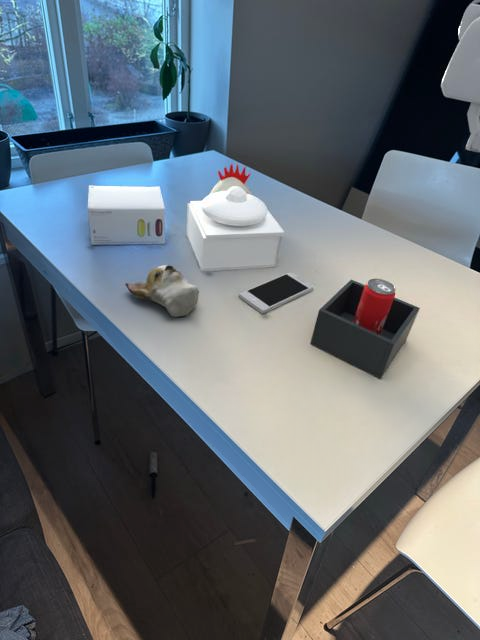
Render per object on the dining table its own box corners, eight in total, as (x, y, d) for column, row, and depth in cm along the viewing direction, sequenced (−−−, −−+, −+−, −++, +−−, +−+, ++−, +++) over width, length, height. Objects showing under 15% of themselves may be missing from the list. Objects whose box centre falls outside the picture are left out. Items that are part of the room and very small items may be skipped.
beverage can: (358, 327, 86) (376, 274, 78) (381, 341, 83) (402, 287, 76) (342, 338, 82) (360, 284, 75) (366, 353, 80) (387, 298, 72)
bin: (405, 340, 85) (420, 307, 80) (380, 379, 76) (394, 344, 71) (341, 311, 91) (351, 279, 86) (310, 344, 82) (318, 309, 77)
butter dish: (186, 234, 111) (188, 171, 101) (255, 232, 116) (263, 171, 106) (201, 272, 97) (205, 202, 88) (278, 267, 102) (290, 201, 93)
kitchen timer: (249, 236, 113) (257, 178, 104) (197, 226, 115) (200, 168, 106) (259, 214, 124) (266, 160, 115) (211, 206, 126) (214, 151, 117)
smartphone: (238, 296, 91) (238, 292, 90) (289, 274, 100) (290, 271, 99) (262, 314, 87) (263, 310, 87) (313, 289, 96) (314, 286, 95)
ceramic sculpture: (168, 290, 75) (119, 258, 83) (169, 332, 80) (123, 297, 88) (215, 271, 81) (165, 243, 90) (214, 311, 86) (167, 281, 95)
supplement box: (90, 246, 101) (86, 207, 96) (92, 220, 111) (88, 184, 106) (165, 244, 105) (165, 207, 100) (160, 220, 115) (160, 185, 110)
